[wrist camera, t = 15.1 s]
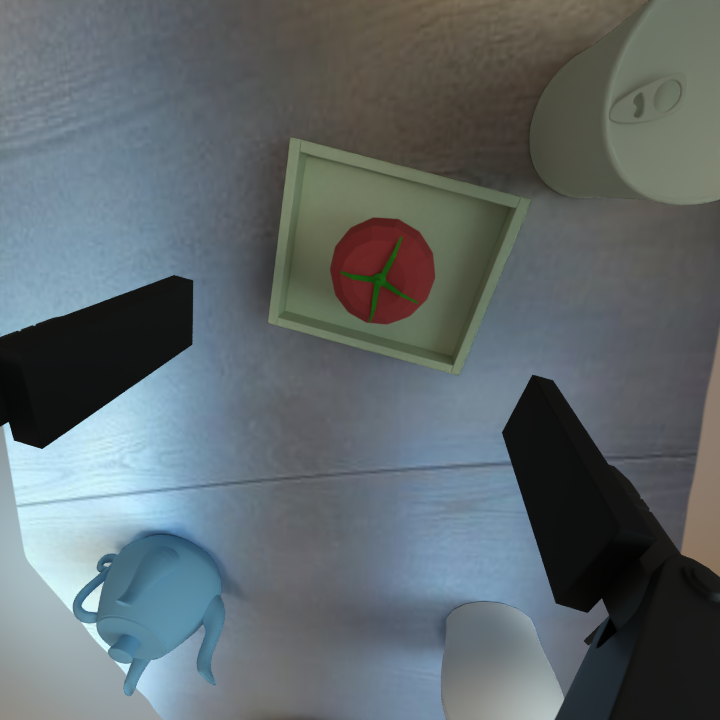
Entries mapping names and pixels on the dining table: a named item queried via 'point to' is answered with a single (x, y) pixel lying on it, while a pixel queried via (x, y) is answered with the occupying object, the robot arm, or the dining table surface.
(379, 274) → the tomato
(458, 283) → the tray
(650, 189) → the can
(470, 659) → the vase
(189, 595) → the teapot
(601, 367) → the dining table surface
